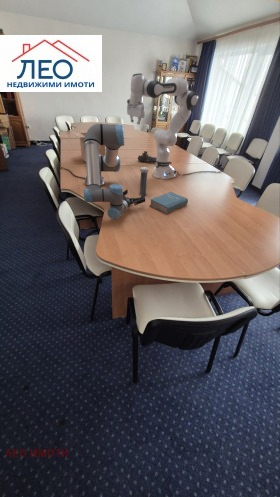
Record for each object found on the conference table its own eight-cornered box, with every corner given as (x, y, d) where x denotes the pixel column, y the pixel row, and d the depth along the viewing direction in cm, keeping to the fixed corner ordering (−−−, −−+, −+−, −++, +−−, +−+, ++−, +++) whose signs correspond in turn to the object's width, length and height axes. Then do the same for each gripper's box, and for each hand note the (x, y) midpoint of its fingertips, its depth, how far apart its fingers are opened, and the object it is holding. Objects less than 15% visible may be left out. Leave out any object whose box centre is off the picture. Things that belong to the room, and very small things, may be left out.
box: (116, 165, 229) (116, 136, 213) (83, 168, 214) (80, 137, 198) (102, 154, 259) (101, 128, 243) (71, 156, 244) (68, 129, 228)
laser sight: (156, 164, 241) (157, 154, 235) (136, 162, 244) (137, 152, 238) (158, 162, 249) (159, 152, 243) (138, 159, 252) (139, 150, 246)
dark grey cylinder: (138, 194, 172) (140, 169, 160) (140, 192, 176) (142, 167, 164) (144, 195, 171) (146, 170, 160) (146, 193, 175) (148, 168, 163)
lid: (139, 171, 161) (139, 168, 160) (141, 169, 166) (141, 166, 165) (147, 173, 160) (147, 169, 159) (149, 170, 165) (149, 167, 164)
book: (169, 197, 170) (170, 191, 167) (186, 205, 161) (188, 198, 158) (149, 205, 157) (150, 199, 154) (167, 214, 148) (168, 207, 145)
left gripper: (106, 205, 147) (120, 194, 163) (140, 214, 141) (151, 201, 157) (105, 195, 143) (120, 184, 159) (141, 203, 136) (152, 191, 152)
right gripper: (147, 103, 155) (146, 125, 163) (133, 100, 168) (132, 121, 176) (140, 102, 152) (138, 125, 160) (125, 100, 165) (125, 121, 173)
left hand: (135, 193), depth 158 cm, fingers open, 13 cm apart
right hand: (135, 123), depth 168 cm, fingers open, 8 cm apart
